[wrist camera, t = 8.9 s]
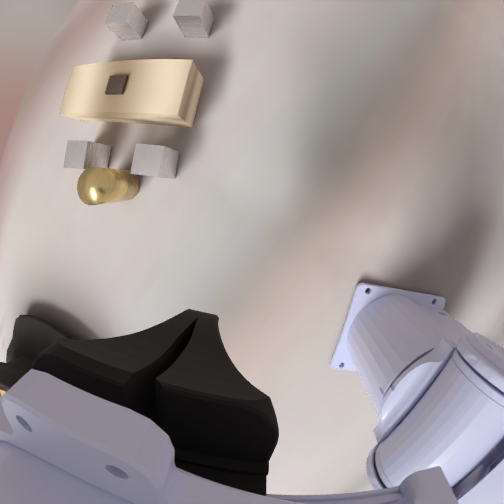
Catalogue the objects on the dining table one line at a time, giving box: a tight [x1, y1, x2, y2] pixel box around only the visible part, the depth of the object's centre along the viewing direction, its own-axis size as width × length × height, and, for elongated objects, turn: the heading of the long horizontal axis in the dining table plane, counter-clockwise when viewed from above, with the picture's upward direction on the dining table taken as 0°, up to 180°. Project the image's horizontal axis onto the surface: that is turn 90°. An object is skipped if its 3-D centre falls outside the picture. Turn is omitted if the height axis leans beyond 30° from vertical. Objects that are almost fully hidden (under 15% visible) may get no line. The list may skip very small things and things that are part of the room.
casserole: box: [0, 315, 69, 396], centre depth 22 cm, size 25×19×8 cm
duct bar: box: [59, 59, 204, 128], centre depth 17 cm, size 10×4×4 cm, turn 79°
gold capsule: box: [77, 167, 139, 205], centre depth 18 cm, size 2×2×5 cm
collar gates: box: [64, 0, 214, 179], centre depth 17 cm, size 8×14×4 cm, turn 169°
